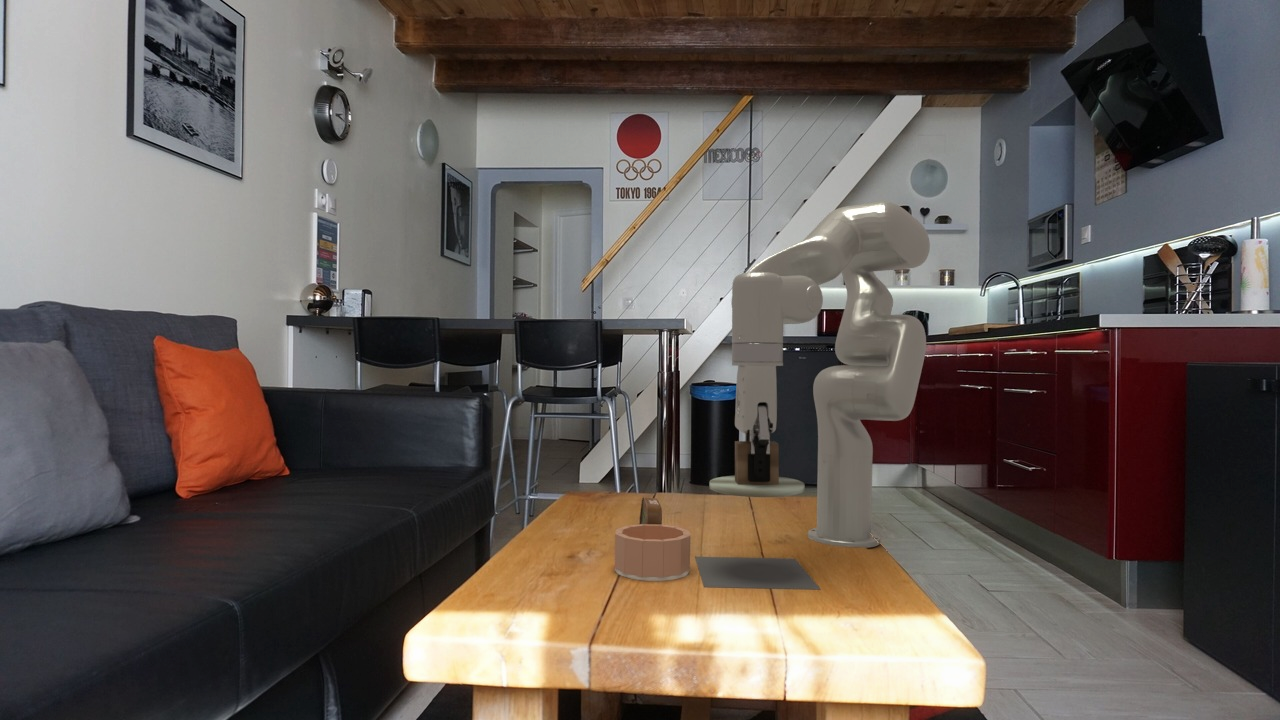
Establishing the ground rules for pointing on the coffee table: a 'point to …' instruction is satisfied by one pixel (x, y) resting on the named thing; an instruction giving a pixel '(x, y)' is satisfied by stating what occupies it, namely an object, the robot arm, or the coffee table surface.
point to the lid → (744, 487)
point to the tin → (650, 511)
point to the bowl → (652, 552)
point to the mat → (754, 573)
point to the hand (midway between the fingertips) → (756, 478)
